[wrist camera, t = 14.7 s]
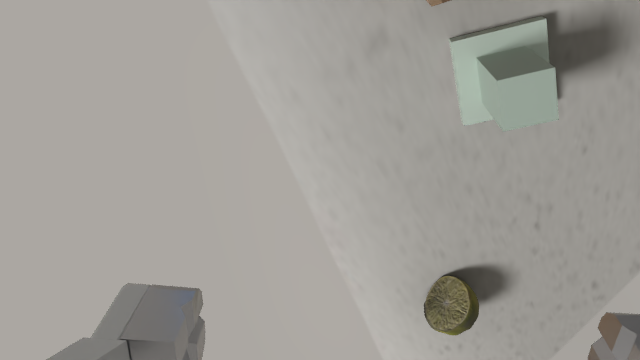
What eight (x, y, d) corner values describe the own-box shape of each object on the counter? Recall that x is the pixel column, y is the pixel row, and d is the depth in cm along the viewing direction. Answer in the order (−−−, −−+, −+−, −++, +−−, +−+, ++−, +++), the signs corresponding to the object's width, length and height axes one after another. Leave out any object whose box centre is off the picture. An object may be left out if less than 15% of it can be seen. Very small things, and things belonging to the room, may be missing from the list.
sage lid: (448, 38, 39) (468, 62, 32) (540, 15, 38) (580, 36, 31) (461, 120, 41) (481, 157, 35) (547, 101, 40) (584, 136, 34)
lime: (420, 307, 50) (427, 345, 45) (427, 266, 48) (435, 301, 43) (467, 311, 50) (478, 349, 45) (476, 269, 48) (489, 305, 43)
